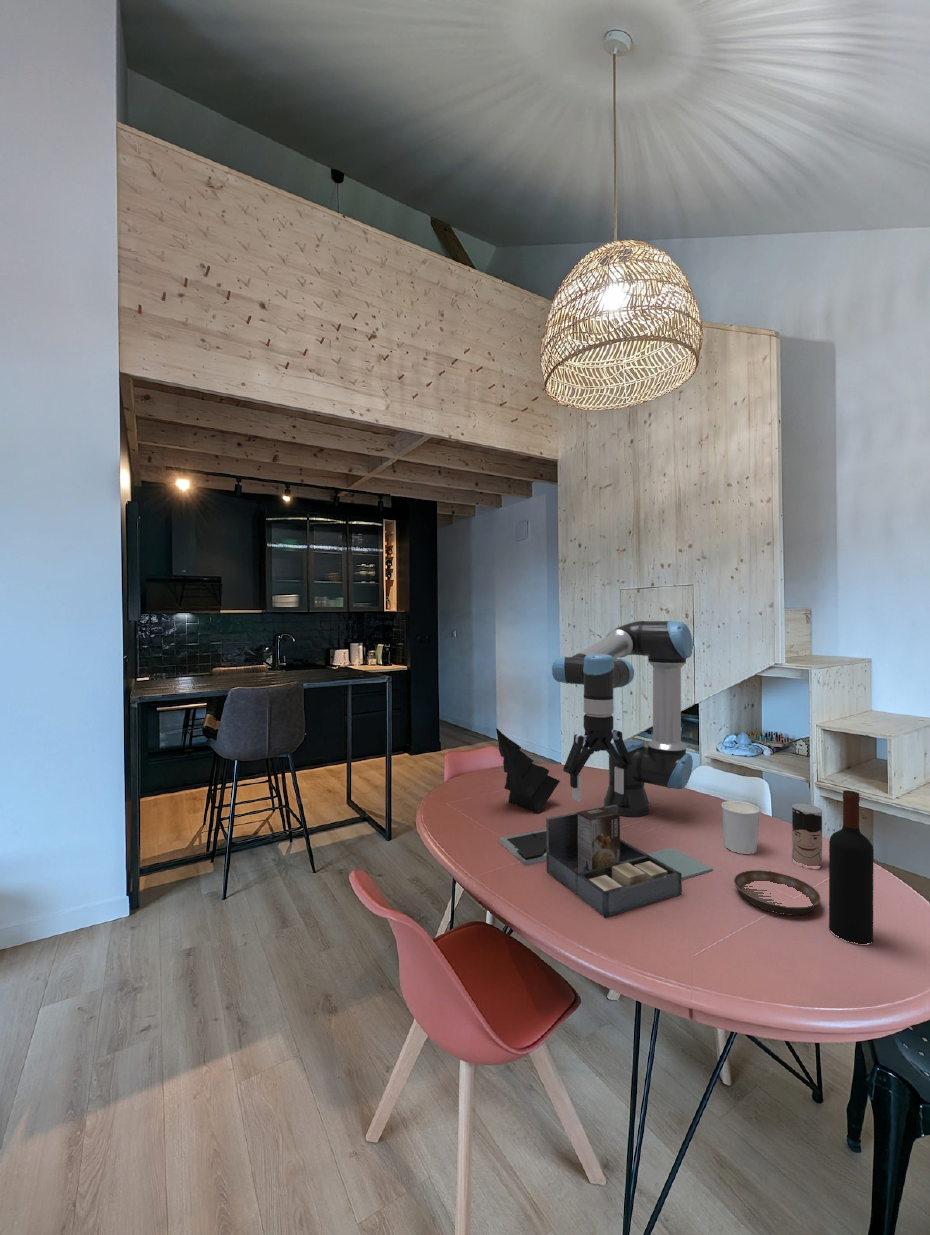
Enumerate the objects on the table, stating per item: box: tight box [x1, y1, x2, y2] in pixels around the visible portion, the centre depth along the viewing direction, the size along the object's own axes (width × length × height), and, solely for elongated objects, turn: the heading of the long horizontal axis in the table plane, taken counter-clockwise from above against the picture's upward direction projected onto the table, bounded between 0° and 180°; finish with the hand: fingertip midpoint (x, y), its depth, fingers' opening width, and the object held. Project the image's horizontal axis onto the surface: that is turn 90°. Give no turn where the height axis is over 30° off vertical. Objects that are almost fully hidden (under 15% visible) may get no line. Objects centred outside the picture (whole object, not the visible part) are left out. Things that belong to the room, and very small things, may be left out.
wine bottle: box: [828, 789, 874, 944], centre depth 113 cm, size 8×8×30 cm
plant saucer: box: [733, 869, 821, 916], centre depth 127 cm, size 18×18×3 cm
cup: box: [791, 803, 823, 866], centre depth 144 cm, size 7×7×15 cm
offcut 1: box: [589, 875, 622, 892], centre depth 126 cm, size 5×6×4 cm
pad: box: [646, 846, 714, 881], centre depth 144 cm, size 14×14×1 cm
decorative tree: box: [495, 727, 561, 815], centre depth 185 cm, size 15×15×35 cm
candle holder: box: [721, 800, 761, 854], centre depth 154 cm, size 10×10×12 cm
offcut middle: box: [612, 863, 645, 888], centre depth 129 cm, size 5×6×6 cm
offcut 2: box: [634, 861, 667, 881], centre depth 132 cm, size 5×6×5 cm
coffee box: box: [577, 806, 621, 873], centre depth 139 cm, size 9×6×16 cm
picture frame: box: [498, 828, 547, 866], centre depth 156 cm, size 16×3×21 cm
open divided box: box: [545, 805, 683, 919], centre depth 135 cm, size 23×24×14 cm
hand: (598, 796), depth 139 cm, fingers open, 13 cm apart
